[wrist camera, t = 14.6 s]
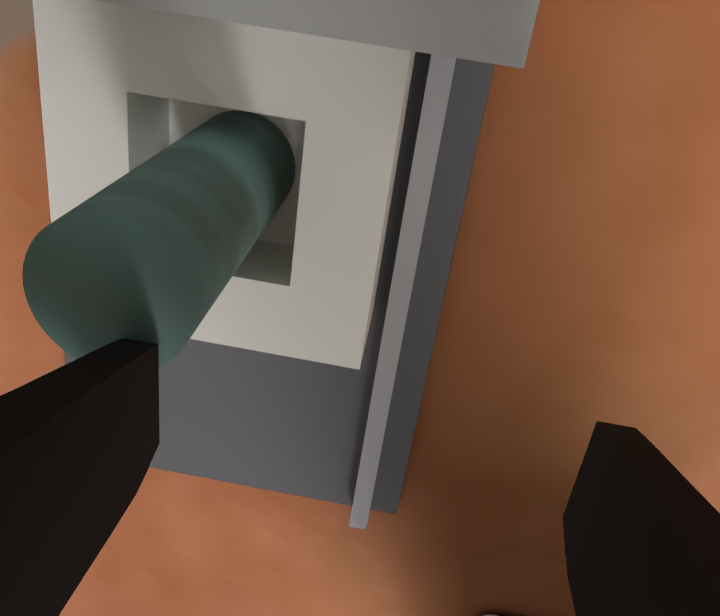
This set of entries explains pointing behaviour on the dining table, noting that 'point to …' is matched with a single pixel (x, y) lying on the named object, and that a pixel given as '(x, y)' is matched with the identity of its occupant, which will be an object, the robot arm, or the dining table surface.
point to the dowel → (160, 239)
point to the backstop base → (395, 284)
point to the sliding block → (252, 94)
